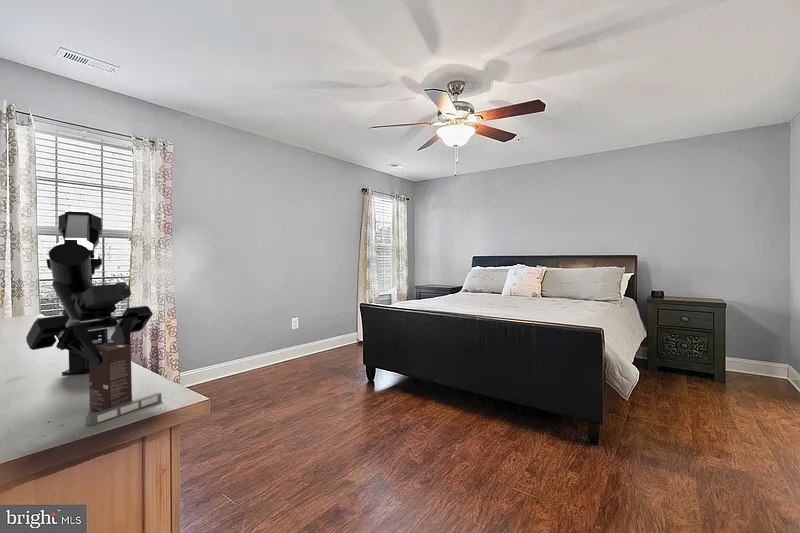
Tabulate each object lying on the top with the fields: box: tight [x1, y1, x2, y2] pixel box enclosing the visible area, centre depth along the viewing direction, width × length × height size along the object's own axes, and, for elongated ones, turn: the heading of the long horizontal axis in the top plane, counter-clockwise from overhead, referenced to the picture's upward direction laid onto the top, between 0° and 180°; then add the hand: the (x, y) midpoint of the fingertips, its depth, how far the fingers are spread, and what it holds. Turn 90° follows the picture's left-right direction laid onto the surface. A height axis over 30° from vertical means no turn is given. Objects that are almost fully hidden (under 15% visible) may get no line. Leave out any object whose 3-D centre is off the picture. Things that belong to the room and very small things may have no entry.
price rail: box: [86, 391, 162, 427], centre depth 68 cm, size 1×12×2 cm, turn 156°
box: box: [88, 341, 133, 412], centre depth 70 cm, size 6×4×12 cm
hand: (115, 359), depth 70 cm, fingers open, 5 cm apart
